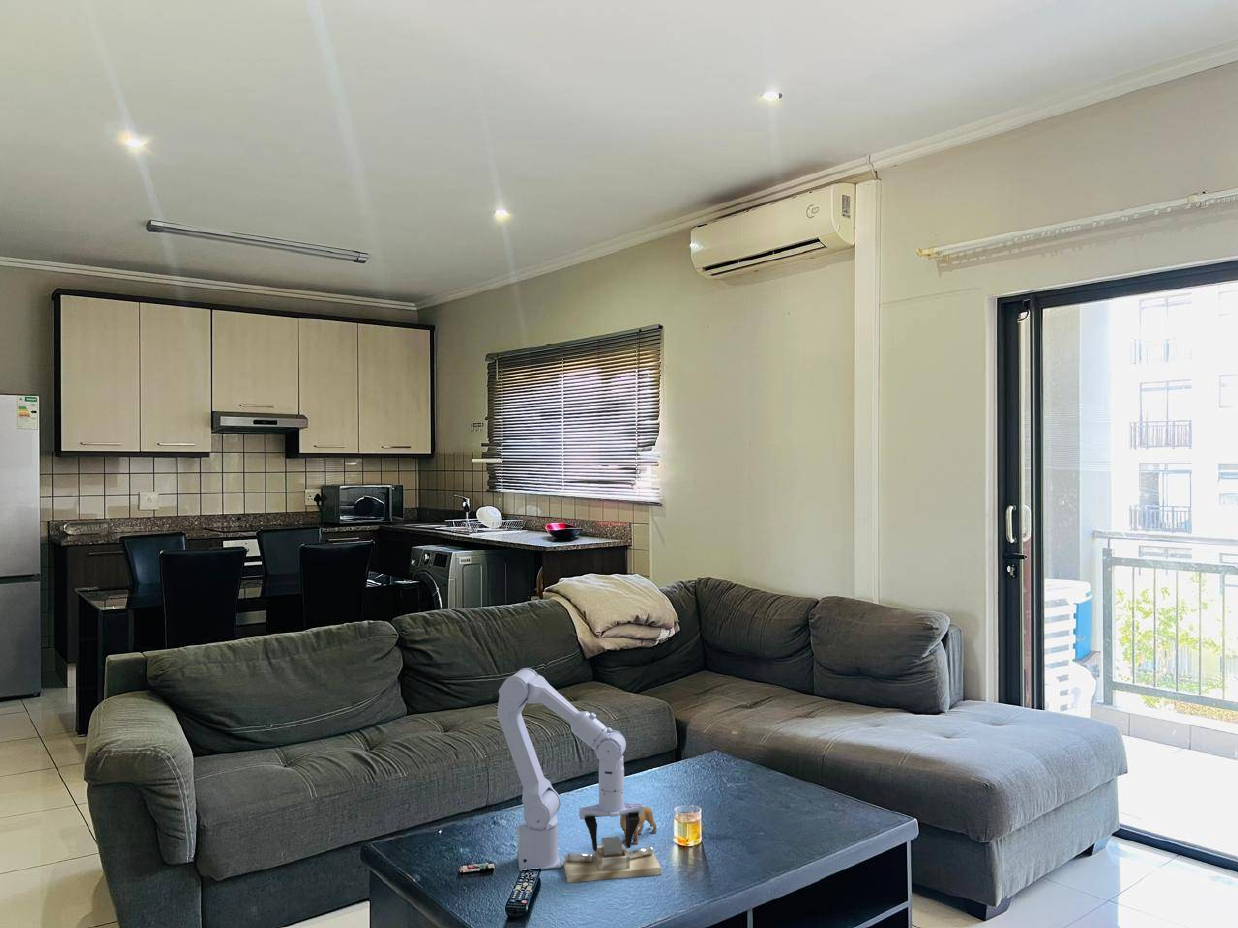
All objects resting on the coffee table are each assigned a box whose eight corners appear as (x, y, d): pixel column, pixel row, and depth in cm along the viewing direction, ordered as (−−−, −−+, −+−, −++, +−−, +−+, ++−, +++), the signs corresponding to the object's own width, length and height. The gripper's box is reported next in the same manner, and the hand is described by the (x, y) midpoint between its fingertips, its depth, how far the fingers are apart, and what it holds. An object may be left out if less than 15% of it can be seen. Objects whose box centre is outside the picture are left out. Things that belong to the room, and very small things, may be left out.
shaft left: (594, 860, 200) (594, 852, 200) (593, 863, 198) (593, 855, 198) (564, 859, 201) (564, 851, 201) (563, 862, 199) (563, 854, 199)
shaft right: (628, 860, 200) (628, 852, 200) (625, 857, 201) (625, 849, 201) (655, 855, 203) (655, 847, 203) (651, 852, 204) (651, 844, 204)
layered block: (604, 867, 196) (604, 845, 197) (601, 859, 200) (601, 837, 200) (621, 865, 197) (621, 843, 197) (618, 858, 201) (618, 836, 201)
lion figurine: (634, 851, 208) (634, 813, 208) (614, 847, 211) (614, 809, 211) (660, 829, 221) (660, 793, 221) (641, 825, 224) (641, 790, 224)
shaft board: (568, 882, 193) (568, 864, 193) (562, 864, 201) (562, 846, 201) (661, 874, 196) (661, 856, 196) (652, 856, 205) (652, 839, 205)
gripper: (582, 795, 194) (582, 857, 194) (646, 791, 197) (646, 852, 196) (577, 784, 201) (577, 844, 201) (639, 780, 203) (639, 839, 203)
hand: (611, 847), depth 199 cm, fingers open, 7 cm apart
